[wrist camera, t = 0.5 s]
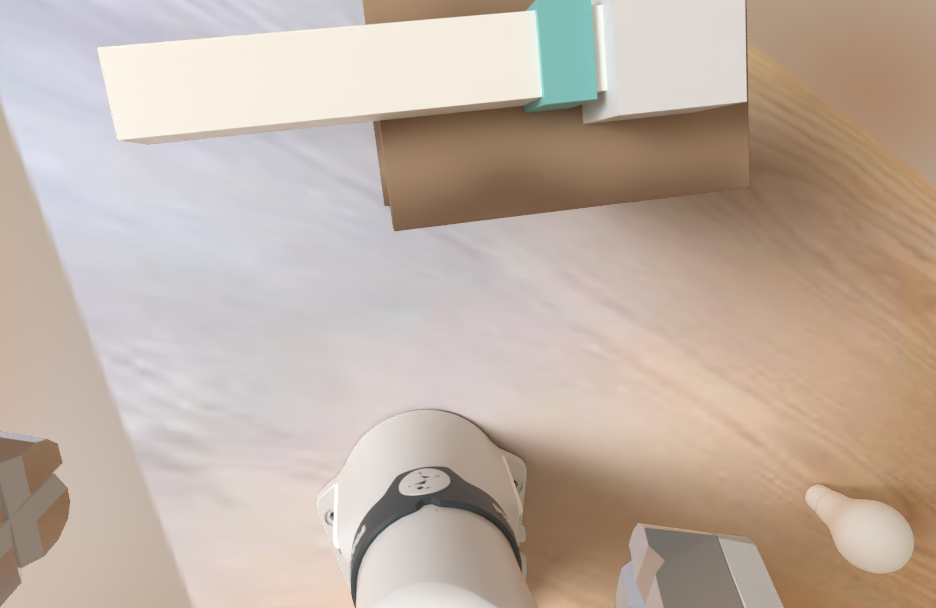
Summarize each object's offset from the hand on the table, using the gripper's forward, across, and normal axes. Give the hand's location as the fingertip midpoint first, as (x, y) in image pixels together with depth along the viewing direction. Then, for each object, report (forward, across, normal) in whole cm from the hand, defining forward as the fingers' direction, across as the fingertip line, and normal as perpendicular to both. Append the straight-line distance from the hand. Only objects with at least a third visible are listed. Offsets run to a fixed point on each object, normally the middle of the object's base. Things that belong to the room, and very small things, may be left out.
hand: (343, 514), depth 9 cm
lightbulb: (+45, +37, -33) cm, 67 cm away
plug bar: (+20, -2, +4) cm, 21 cm away
